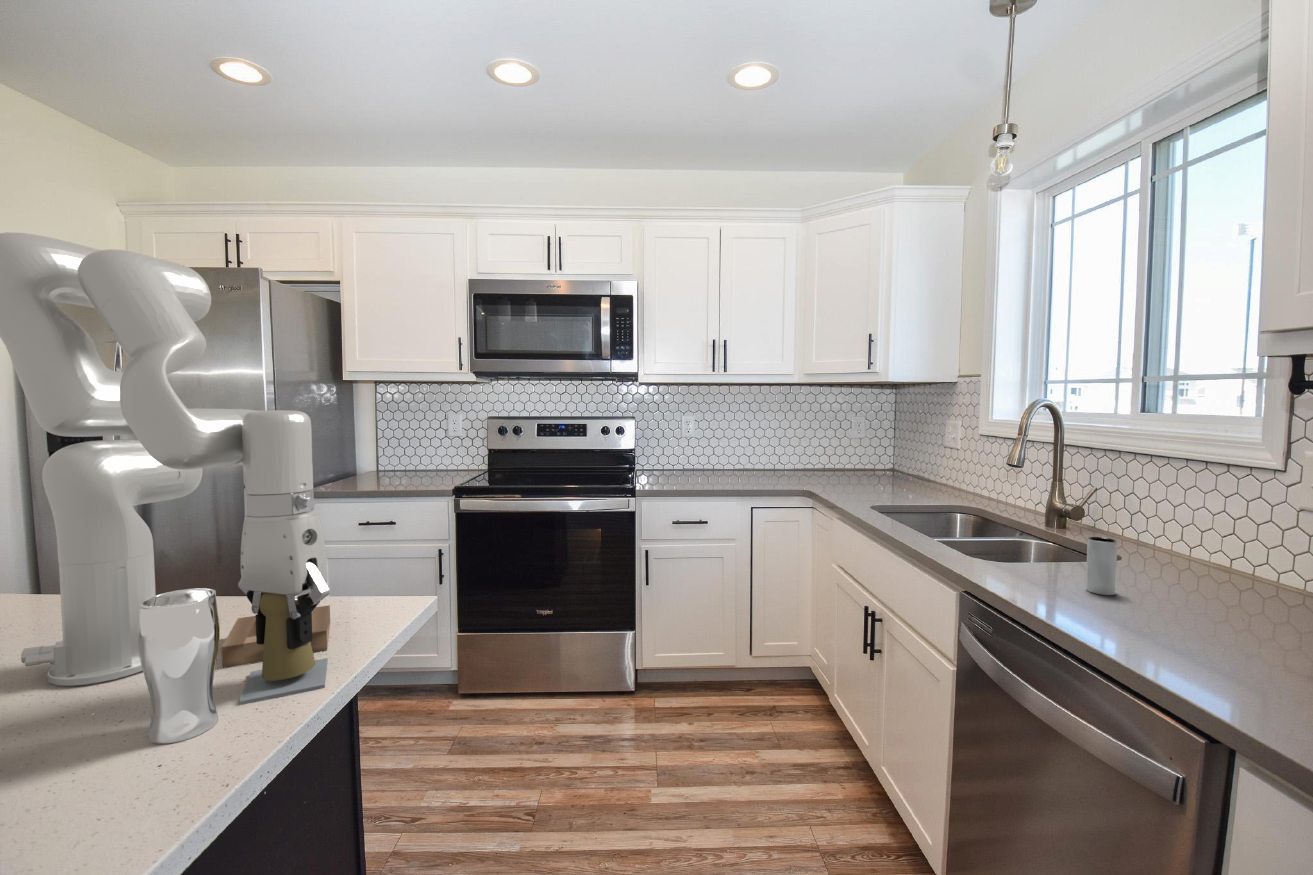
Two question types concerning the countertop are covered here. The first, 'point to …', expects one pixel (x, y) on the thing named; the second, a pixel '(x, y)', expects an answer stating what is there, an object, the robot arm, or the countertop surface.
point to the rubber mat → (283, 684)
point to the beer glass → (179, 662)
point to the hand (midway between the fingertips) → (284, 641)
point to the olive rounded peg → (281, 642)
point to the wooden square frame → (247, 651)
